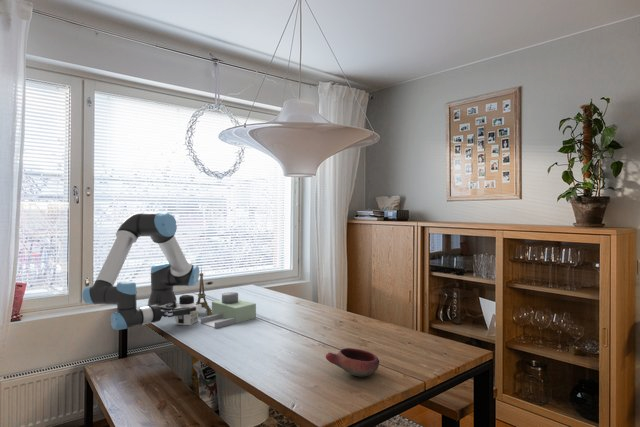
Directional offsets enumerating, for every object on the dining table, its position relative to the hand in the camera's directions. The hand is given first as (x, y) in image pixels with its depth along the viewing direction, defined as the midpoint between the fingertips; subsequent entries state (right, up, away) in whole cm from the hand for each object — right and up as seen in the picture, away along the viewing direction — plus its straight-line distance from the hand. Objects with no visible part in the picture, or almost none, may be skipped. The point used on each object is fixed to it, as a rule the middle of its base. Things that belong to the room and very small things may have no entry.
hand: (194, 305), depth 198 cm
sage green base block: (+14, -7, +3) cm, 16 cm away
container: (-3, -8, -3) cm, 9 cm away
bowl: (+72, -8, -65) cm, 97 cm away
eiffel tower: (0, -8, +14) cm, 16 cm away
